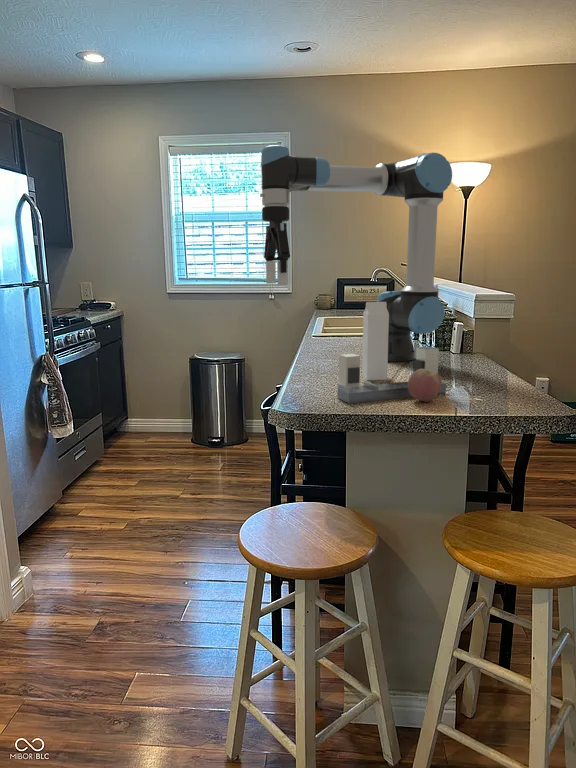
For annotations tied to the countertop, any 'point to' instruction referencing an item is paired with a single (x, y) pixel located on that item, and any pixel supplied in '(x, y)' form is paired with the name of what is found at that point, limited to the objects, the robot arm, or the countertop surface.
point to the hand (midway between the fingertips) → (276, 284)
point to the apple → (424, 384)
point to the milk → (375, 341)
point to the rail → (372, 392)
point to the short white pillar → (349, 370)
